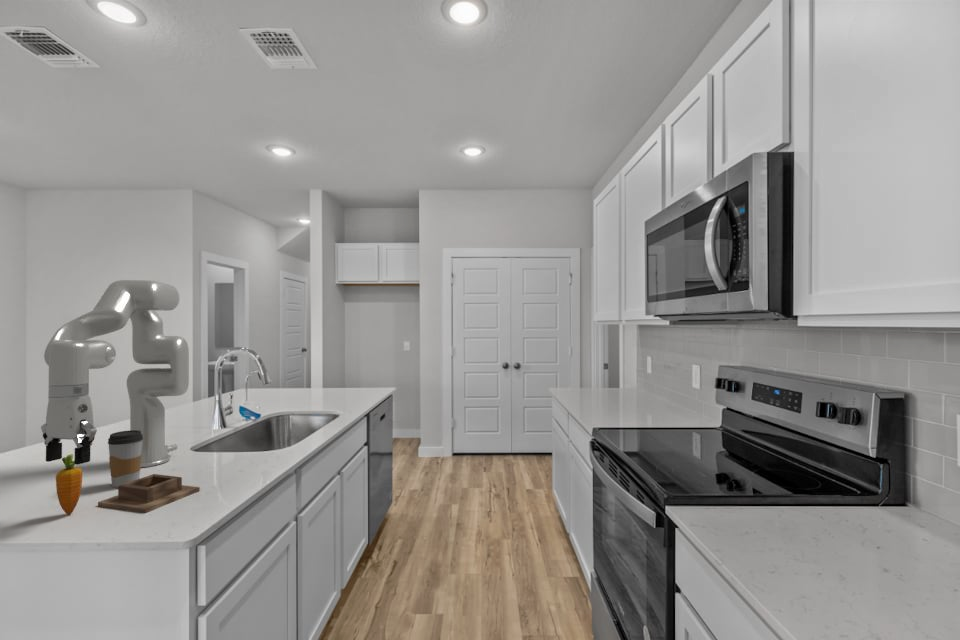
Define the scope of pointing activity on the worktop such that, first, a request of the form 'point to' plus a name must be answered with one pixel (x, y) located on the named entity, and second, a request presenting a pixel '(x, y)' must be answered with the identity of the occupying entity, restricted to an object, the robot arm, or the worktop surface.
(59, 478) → the carrot
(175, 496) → the walnut stand
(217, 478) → the worktop surface
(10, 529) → the worktop surface
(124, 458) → the coffee cup
